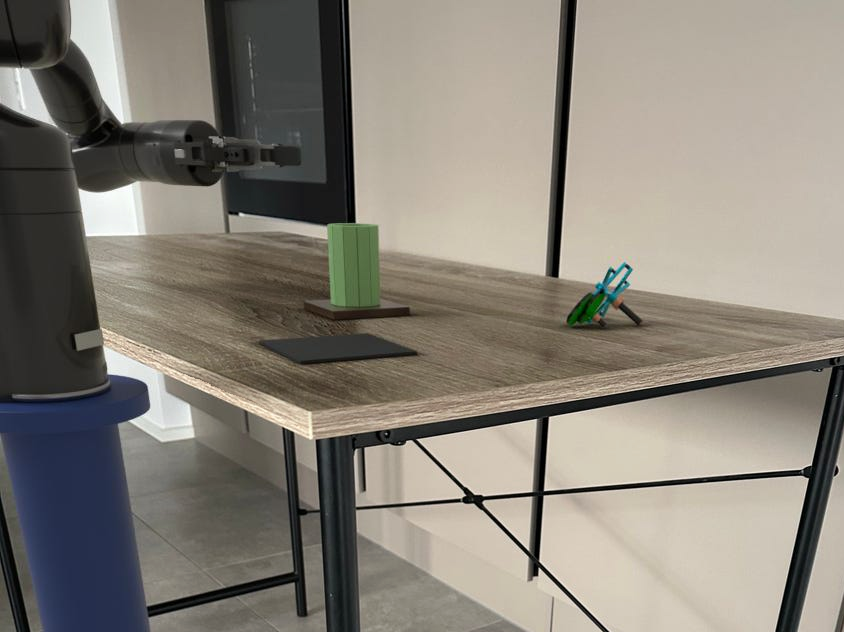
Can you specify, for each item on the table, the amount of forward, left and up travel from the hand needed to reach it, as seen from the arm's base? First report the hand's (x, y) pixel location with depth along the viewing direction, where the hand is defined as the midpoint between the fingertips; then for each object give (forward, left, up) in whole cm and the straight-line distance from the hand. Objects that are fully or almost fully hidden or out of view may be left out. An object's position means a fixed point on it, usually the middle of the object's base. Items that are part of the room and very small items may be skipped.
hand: (276, 155), depth 114 cm
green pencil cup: (+6, -10, -16) cm, 20 cm away
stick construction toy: (+29, -31, -17) cm, 45 cm away
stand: (+6, -10, -17) cm, 21 cm away
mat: (-6, -33, -17) cm, 38 cm away
